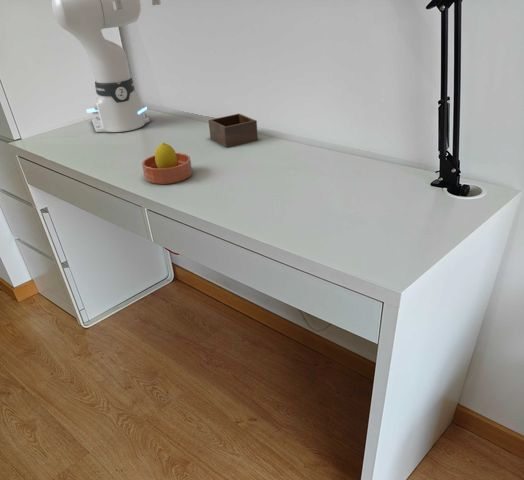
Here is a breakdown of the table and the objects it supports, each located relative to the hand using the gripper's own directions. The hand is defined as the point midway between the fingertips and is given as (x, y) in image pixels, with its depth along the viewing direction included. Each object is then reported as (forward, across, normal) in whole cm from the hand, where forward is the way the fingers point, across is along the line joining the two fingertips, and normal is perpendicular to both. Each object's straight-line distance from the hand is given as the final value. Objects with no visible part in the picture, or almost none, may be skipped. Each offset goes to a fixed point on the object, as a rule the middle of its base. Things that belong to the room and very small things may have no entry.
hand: (137, 7), depth 116 cm
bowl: (+36, +4, +8) cm, 37 cm away
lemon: (+36, +4, +8) cm, 37 cm away
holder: (+35, -24, -8) cm, 44 cm away
